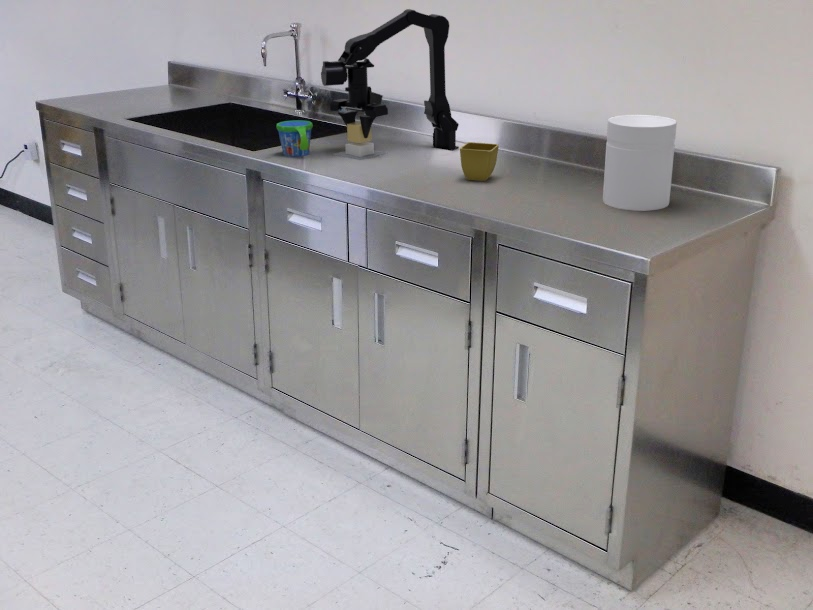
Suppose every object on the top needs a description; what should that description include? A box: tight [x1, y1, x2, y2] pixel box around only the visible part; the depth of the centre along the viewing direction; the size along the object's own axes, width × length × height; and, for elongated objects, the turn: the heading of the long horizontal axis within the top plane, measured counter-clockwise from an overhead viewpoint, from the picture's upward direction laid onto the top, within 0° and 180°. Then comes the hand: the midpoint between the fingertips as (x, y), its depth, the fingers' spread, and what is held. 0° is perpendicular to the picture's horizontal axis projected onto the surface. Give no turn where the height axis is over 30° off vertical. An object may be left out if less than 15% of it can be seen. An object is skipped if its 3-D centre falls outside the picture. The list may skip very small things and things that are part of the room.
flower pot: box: [459, 141, 500, 182], centre depth 255 cm, size 9×9×9 cm
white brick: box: [344, 141, 375, 157], centre depth 282 cm, size 6×6×3 cm
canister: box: [602, 114, 678, 212], centre depth 229 cm, size 16×16×20 cm
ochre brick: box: [346, 120, 372, 143], centre depth 280 cm, size 5×5×5 cm
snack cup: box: [276, 119, 314, 158], centre depth 282 cm, size 16×10×10 cm
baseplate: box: [331, 149, 387, 161], centre depth 283 cm, size 12×12×1 cm
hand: (359, 136), depth 281 cm, fingers closed on ochre brick, 5 cm apart
